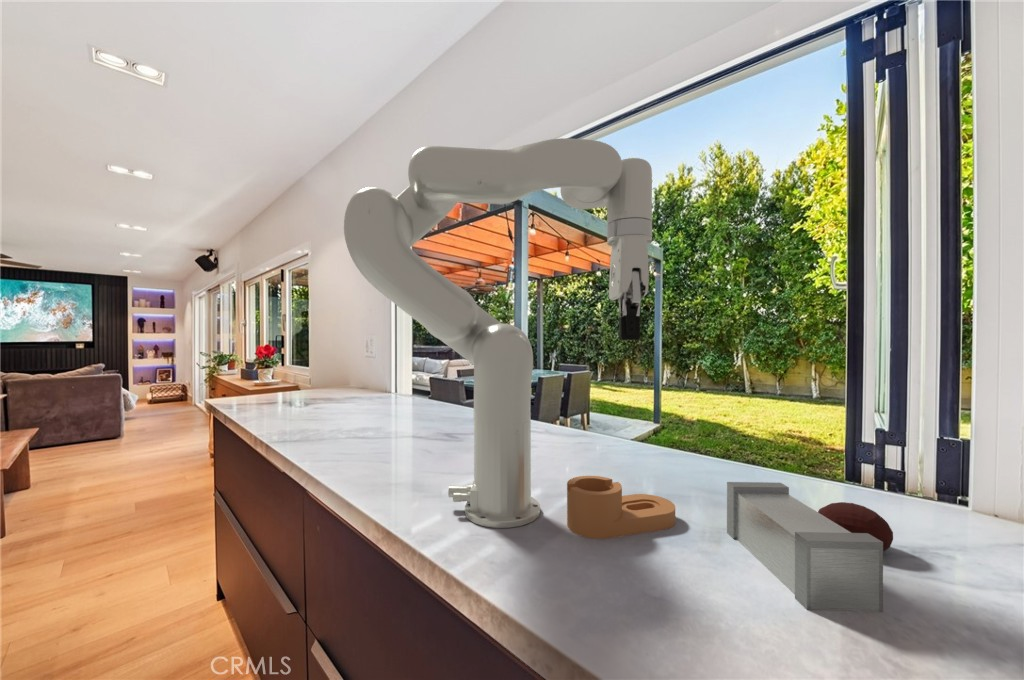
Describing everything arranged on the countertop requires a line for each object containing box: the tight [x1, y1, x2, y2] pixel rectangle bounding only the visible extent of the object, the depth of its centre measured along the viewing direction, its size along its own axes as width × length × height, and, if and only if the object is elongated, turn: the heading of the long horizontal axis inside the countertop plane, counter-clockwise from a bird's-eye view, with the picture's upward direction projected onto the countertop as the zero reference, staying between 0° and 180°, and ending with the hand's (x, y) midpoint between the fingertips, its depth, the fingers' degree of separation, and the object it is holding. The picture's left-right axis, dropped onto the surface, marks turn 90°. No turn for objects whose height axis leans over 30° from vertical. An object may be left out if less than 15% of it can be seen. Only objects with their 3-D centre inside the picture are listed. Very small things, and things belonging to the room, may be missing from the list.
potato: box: [817, 502, 894, 552], centre depth 58 cm, size 7×8×6 cm
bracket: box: [566, 475, 676, 540], centre depth 66 cm, size 18×8×7 cm, turn 107°
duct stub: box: [726, 481, 884, 613], centre depth 53 cm, size 8×18×8 cm, turn 177°
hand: (629, 339), depth 73 cm, fingers closed
